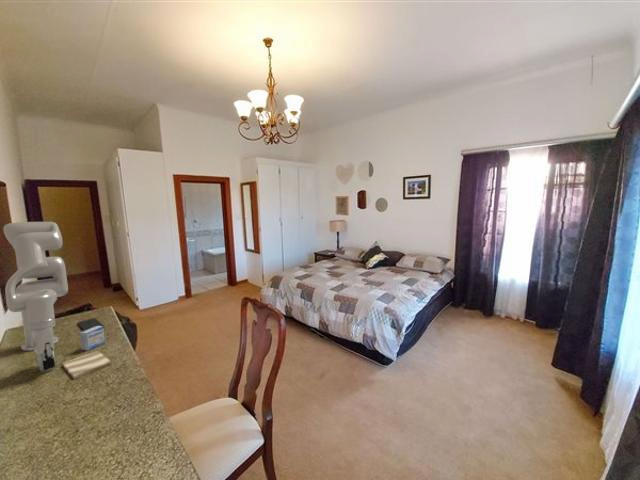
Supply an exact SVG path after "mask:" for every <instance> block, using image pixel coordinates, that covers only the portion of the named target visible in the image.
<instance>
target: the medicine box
mask: <svg viewBox="0 0 640 480" xmlns="http://www.w3.org/2000/svg"><path fill="white" fill-rule="evenodd" d="M103 326H104V325H103ZM103 326H95V327H93V328H90V329H88V330H85V331H83V330H82V331H81V332H79V340H80V341H79V342H80V349H81V351H88V352H89V351H91V350H93V349H95V348H97V347H100V346H101V345H104V344H105V341H106V340H105V331H104V329H105V328H104V329H103Z"/></svg>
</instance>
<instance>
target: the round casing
mask: <svg viewBox="0 0 640 480" xmlns="http://www.w3.org/2000/svg"><path fill="white" fill-rule="evenodd" d="M45 352H46V351H44V353H45ZM52 352H53V357H54V363H55V364H56V362H55V361H56V359H55V350H54V351H52ZM46 355H47V354H45V356H46ZM37 361H38V369H39V371H40V372H46V371H50V370H52V369H54V368H55V367H53V368H50V369H47V370H44V368H43V355H42V354H41V355H37Z"/></svg>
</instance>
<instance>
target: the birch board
mask: <svg viewBox="0 0 640 480" xmlns="http://www.w3.org/2000/svg"><path fill="white" fill-rule="evenodd" d="M111 365H112V361H111V360H110V359H109V358H107V357H106V356H105V355H104V354H103V353H102V352H100V351H99V350H96V351H93V352H91V353H87V354H85V355H82V356H78V357H76V358H73V359H71V360H67V361H64V362H62V367H63V368H64V369H65V371H67V372H68V374H69V375H70V376H71V377H72V379H75V380H76V379H77V378H80V377H82V376H85V375H88V374H90V373H93V372H96V371H98V370H100V369H104V368H106V367H108V366H111Z"/></svg>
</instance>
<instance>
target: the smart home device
mask: <svg viewBox="0 0 640 480" xmlns="http://www.w3.org/2000/svg"><path fill="white" fill-rule="evenodd" d="M77 326H79V328H81V330H82V332H83V331H85V330H88V329H90V328H93V327H95V326H103V328H104V329H105V325H103V324H102V323H101V322H100V321H99V320H98V319H97V318H96V317H95V318H89V319H88V318H87V319H85V320H81V321H78V322H77Z"/></svg>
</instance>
